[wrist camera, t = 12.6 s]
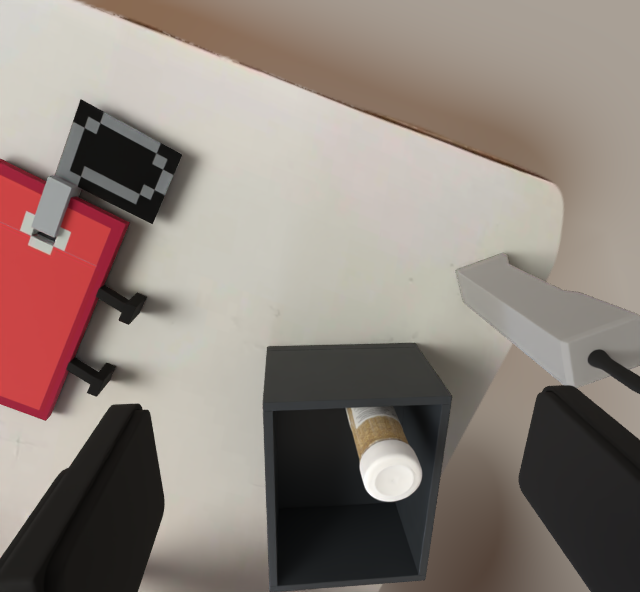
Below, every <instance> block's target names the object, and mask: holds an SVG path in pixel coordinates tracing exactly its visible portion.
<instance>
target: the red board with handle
mask: <svg viewBox="0 0 640 592" xmlns="http://www.w3.org/2000/svg"><path fill="white" fill-rule="evenodd" d="M181 157H182V154H180V153H178V152H176V151H175V150H173V149H171V148H169V147H167V146H165V145H164V144H162V143H160V142H158V141H156V140H154V139H153V138H151V137H149V136H147V135H145V134H143V133H142V132H140V131H138V130H136V129H134V128H132V127H131V126H129V125H127V124H125V123H123V122H121V121H120V120H118V119H116V118H114V117H112V116H110V115H109V114H107V113H105V112H103V111H101V110H99V109H98V108H96V107H94V106H92V105H90V104H88V103H87V102H85V101H83V100H80V103H79V106H78V109H77V112H76V114H75V117H74V120H73V123H72V126H71V129H70V132H69V135H68V138H67V141H66V144H65V147H64V150H63V153H62V155H61V158H60V161H59V164H58V167H57V170H56V173H55V175H54V176H48V178H47V181H45V180H43V179H41V178H39V177H37V176H34V175H32V174H30V173H28V172H26V171H24V170H22V169H20V168H18V167H16V166H14V165H12V164H10V163H8V162H6V161H4V160H2V159H0V404H1V405H4V406H7V407H10V408H12V409H15V410H18V411H21V412H23V413H26V414H29V415H31V416H34V417H37V418H40V419H42V420H45V421H46V420H47V419H48V418H49V417H50V415H51V414H52V411H53V409H54V406H55V404H56V401H57V399H58V397H59V394H60V392H61V389H62V387H63V384H64V382H65V379H66V377H67V375H68V372H71V373H72V374H74V375H76V376H77V377H79V378H81V379H82V380H84V381H85V382H87V383H89V384H90V387H89V389H88V392H87V393H88V394H91V395H94V396H96V397H97V396H98V394H99V393H100V392H101V391H102V390H103V388H104V387H105V386H106V385H107V383H108V382H109V381H110V378H111V376H112V374H113V372H114V369H115V367H116V366H113V365H111V364H108V363H106V364H105V365H104V366H103V367H102V369H101V370H100V371H99V372H98V371H96V370H95V369H93V368H91V367H90V366H88V365H87V364H85V363H83V362H82V361H80V360H78V359H77V358H75V355H76V353H77V350H78V348H79V345H80V343H81V340H82V338H83V336H84V333H85V331H86V328H87V326H88V323H89V321H90V319H91V316H92V314H93V311H94V309H95V306H96V304H97V301H98V299H100V300H102V301H104V302H105V303H107V304H108V305H110V306H112V307H113V308H115V309H117V310H118V311H120V312H122V313H121V315H120V318H119V321H121V322H123V323H126V324H128V325H129V324H130V323H131V322H132V321H133V320H134V319H135V318H136V316H137V315H138V314H139V313H140V311H141V309H142V307H143V305H144V302H145V300H146V298H147V297H146V296H144V295H142V294H139V293H136V294H135V295H134V296H133V297H132V298H131V299H130V300H128V299H127V298H125V297H123V296H122V295H120V294H118V293H117V292H115V291H113V290H112V289H110V288H108V287H107V286H105V285H104V284H105V282H106V280H107V277H108V275H109V272H110V270H111V267H112V265H113V262H114V260H115V258H116V255H117V253H118V250H119V248H120V245H121V243H122V240H123V238H124V236H125V233H126V231H127V228H128V226H129V223H130V222H128V221H126V220H124V219H122V218H120V217H118V216H116V215H114V214H112V213H110V212H108V211H106V210H104V209H101V208H99V207H97V206H95V205H93V204H91V203H89V202H87V201H85V200H83V199H81V198H79V195H80V192H81V190H82V189H83V190H85V191H87V192H89V193H91V194H93V195H95V196H97V197H99V198H101V199H103V200H105V201H107V202H109V203H111V204H113V205H115V206H117V207H119V208H121V209H123V210H125V211H127V212H129V213H131V214H133V215H135V216H137V217H139V218H141V219H143V220H145V221H147V222H149V223H151V224H153V222H154V220H155V217H156V215H157V213H158V210H159V208H160V206H161V203H162V201H163V199H164V196H165V194H166V192H167V189H168V187H169V185H170V182H171V180H172V178H173V175H174V173H175V171H176V168H177V166H178V164H179V161H180V159H181ZM38 231H40V232H43V233H45V234H47V235H49V236H51V237H53V238H54V237H56V240H55V241H52V240H50V239H48V238H46V237H44V236H42V235H39V234H38Z"/></svg>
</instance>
